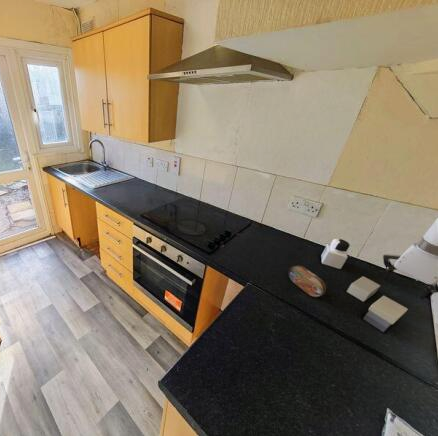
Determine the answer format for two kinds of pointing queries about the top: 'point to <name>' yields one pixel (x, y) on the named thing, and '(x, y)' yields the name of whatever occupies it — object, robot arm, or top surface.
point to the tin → (307, 281)
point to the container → (335, 253)
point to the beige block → (363, 288)
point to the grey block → (377, 321)
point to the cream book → (387, 309)
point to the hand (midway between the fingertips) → (402, 287)
